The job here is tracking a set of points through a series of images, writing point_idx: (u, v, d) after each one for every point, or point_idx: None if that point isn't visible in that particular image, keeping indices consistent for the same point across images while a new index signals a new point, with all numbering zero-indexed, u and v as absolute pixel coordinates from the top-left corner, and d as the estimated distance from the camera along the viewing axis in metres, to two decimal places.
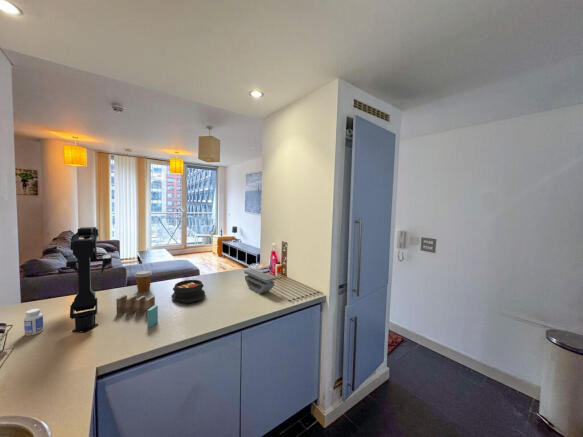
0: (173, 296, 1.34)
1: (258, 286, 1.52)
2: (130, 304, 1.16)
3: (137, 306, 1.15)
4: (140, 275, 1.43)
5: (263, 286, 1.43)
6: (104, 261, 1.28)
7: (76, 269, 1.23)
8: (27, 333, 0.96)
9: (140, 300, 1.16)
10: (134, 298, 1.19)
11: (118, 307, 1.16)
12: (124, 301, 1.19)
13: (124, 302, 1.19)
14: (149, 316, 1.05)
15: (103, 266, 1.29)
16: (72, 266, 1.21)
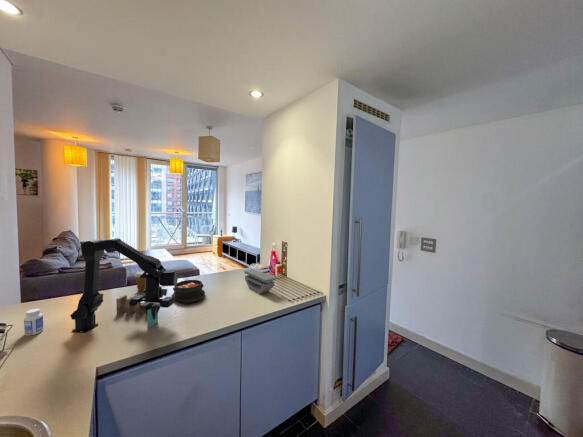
0: (173, 296, 1.34)
1: (258, 286, 1.52)
2: None
3: (137, 306, 1.15)
4: (140, 275, 1.43)
5: (263, 286, 1.43)
6: (161, 304, 1.03)
7: (145, 310, 1.05)
8: (27, 333, 0.96)
9: None
10: None
11: (118, 307, 1.16)
12: (124, 301, 1.19)
13: (124, 302, 1.19)
14: (149, 316, 1.05)
15: (153, 310, 1.04)
16: (133, 305, 1.04)
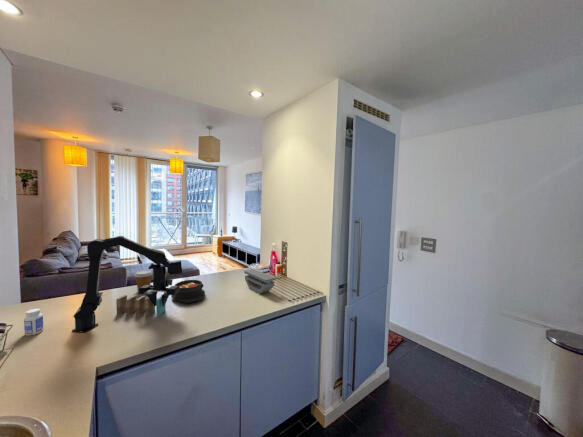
0: (173, 296, 1.34)
1: (258, 286, 1.52)
2: (130, 304, 1.16)
3: (137, 306, 1.15)
4: (140, 275, 1.43)
5: (263, 286, 1.43)
6: (167, 292, 1.13)
7: (150, 297, 1.15)
8: (27, 333, 0.96)
9: (140, 300, 1.16)
10: (134, 298, 1.19)
11: (118, 307, 1.16)
12: (124, 301, 1.19)
13: (124, 302, 1.19)
14: (158, 305, 1.16)
15: (162, 298, 1.14)
16: (142, 293, 1.14)
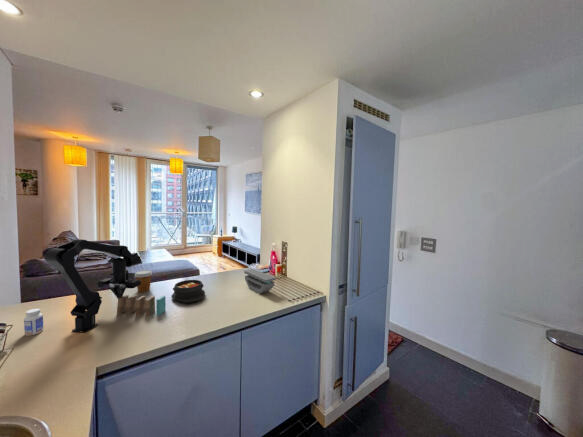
0: (173, 296, 1.34)
1: (258, 286, 1.52)
2: (130, 304, 1.16)
3: (137, 306, 1.15)
4: (140, 275, 1.43)
5: (263, 286, 1.43)
6: (126, 285, 1.14)
7: (113, 291, 1.15)
8: (27, 333, 0.96)
9: (140, 300, 1.16)
10: (134, 298, 1.19)
11: (119, 307, 1.16)
12: (125, 301, 1.19)
13: (125, 302, 1.19)
14: (158, 305, 1.16)
15: (118, 291, 1.15)
16: (101, 286, 1.15)
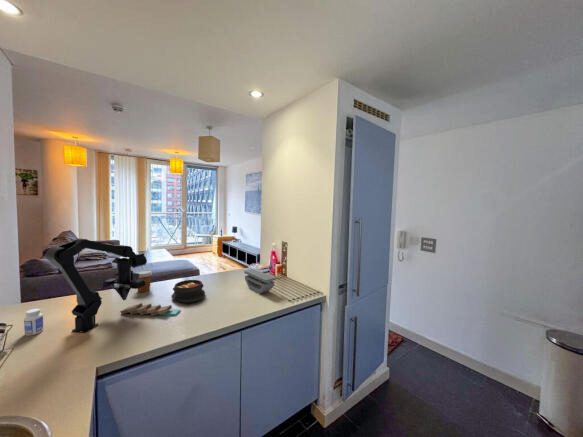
0: (173, 296, 1.34)
1: (258, 286, 1.52)
2: None
3: (148, 312, 1.15)
4: (140, 275, 1.43)
5: (263, 286, 1.43)
6: (131, 285, 1.14)
7: (118, 291, 1.15)
8: (27, 333, 0.96)
9: None
10: None
11: (127, 311, 1.16)
12: None
13: None
14: (169, 315, 1.16)
15: (123, 291, 1.15)
16: (106, 286, 1.15)
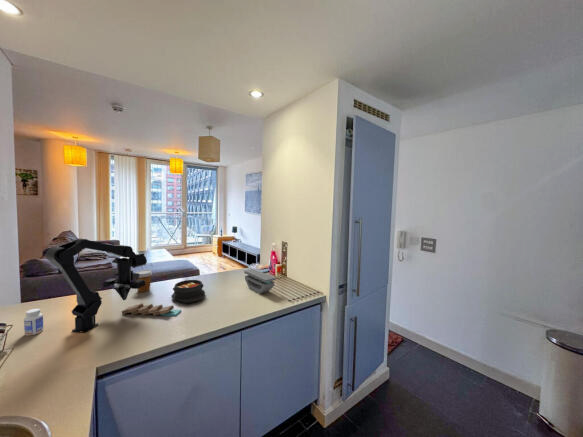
0: (173, 296, 1.34)
1: (258, 286, 1.52)
2: None
3: (150, 312, 1.15)
4: (140, 275, 1.43)
5: (263, 286, 1.43)
6: (131, 285, 1.14)
7: (118, 291, 1.15)
8: (27, 333, 0.96)
9: None
10: None
11: (128, 311, 1.16)
12: None
13: None
14: (170, 315, 1.16)
15: (123, 291, 1.15)
16: (106, 286, 1.15)
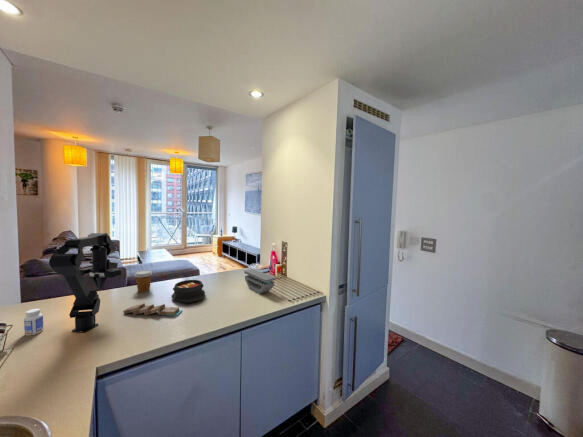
0: (173, 296, 1.34)
1: (258, 286, 1.52)
2: None
3: (152, 311, 1.15)
4: (140, 275, 1.43)
5: (263, 286, 1.43)
6: (105, 274, 1.10)
7: (93, 280, 1.12)
8: (27, 333, 0.96)
9: (159, 310, 1.16)
10: None
11: (130, 311, 1.16)
12: None
13: None
14: None
15: (97, 280, 1.12)
16: None
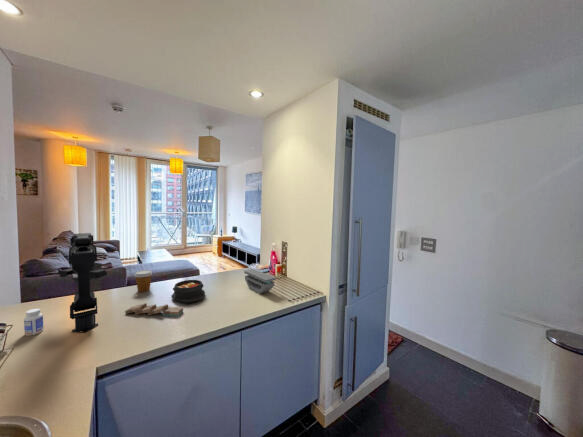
0: (173, 296, 1.34)
1: (258, 286, 1.52)
2: None
3: (155, 312, 1.15)
4: (140, 275, 1.43)
5: (263, 286, 1.43)
6: (90, 275, 1.08)
7: (76, 281, 1.10)
8: (27, 333, 0.96)
9: None
10: None
11: (132, 311, 1.16)
12: None
13: None
14: None
15: None
16: (63, 276, 1.09)
